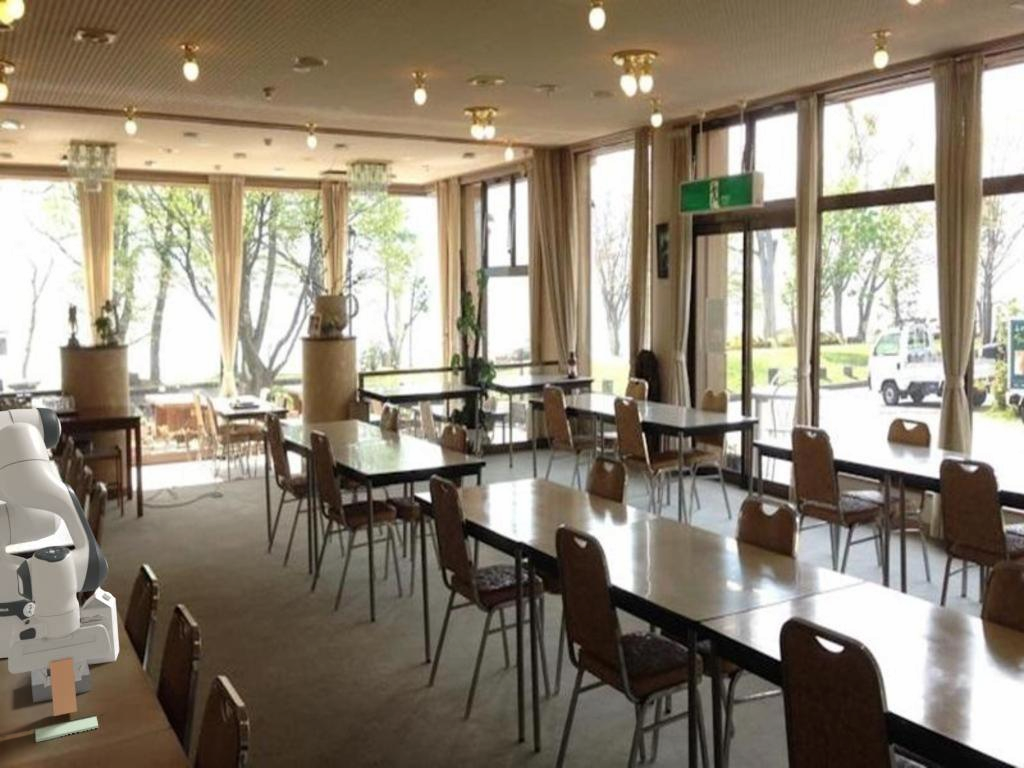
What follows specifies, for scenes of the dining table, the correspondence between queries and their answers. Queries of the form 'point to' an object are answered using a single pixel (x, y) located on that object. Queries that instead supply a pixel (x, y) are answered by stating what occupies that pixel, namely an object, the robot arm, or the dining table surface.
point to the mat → (66, 728)
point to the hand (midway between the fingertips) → (62, 683)
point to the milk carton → (106, 607)
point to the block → (63, 686)
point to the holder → (46, 693)
